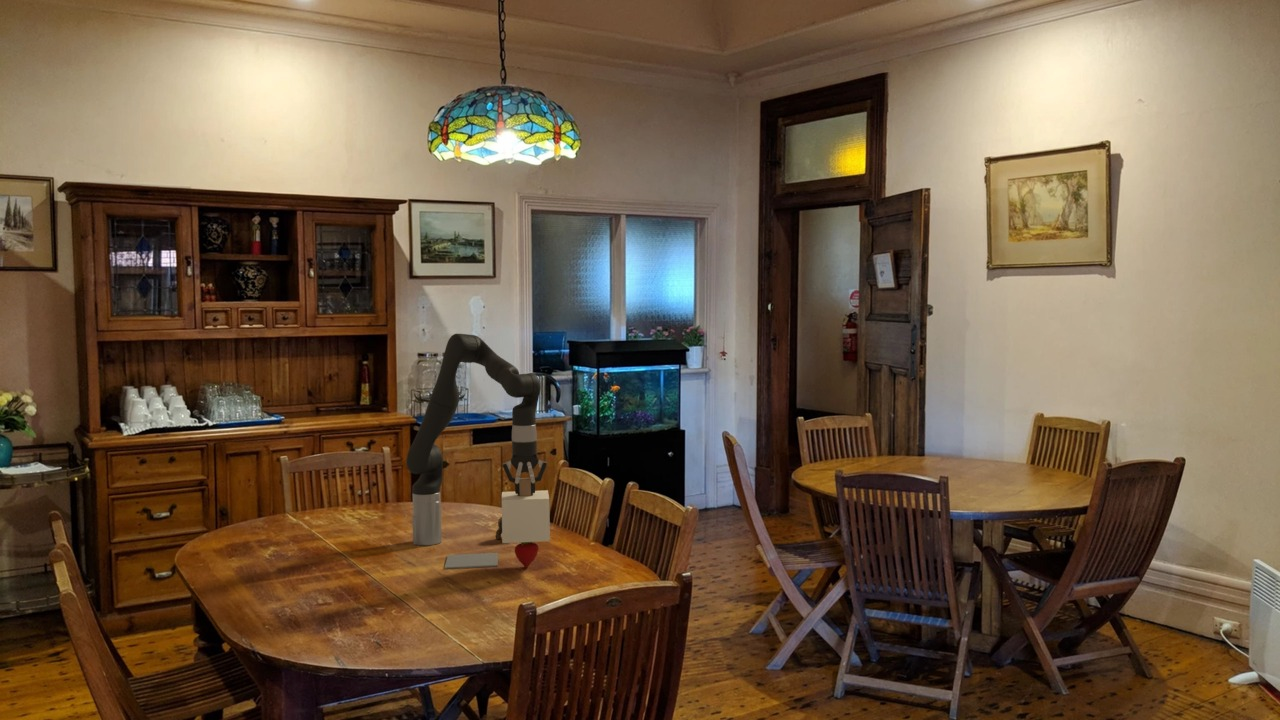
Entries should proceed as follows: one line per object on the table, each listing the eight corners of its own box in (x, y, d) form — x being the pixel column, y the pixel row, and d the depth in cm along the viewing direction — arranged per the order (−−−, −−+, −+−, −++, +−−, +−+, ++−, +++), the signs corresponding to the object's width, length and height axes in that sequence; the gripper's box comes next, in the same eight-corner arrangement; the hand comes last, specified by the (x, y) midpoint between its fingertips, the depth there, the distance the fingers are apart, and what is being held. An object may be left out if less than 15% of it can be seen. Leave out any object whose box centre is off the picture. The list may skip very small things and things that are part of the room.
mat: (444, 569, 290) (444, 567, 290) (447, 556, 304) (447, 555, 304) (497, 566, 292) (497, 564, 292) (498, 554, 306) (498, 552, 306)
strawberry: (541, 568, 290) (541, 535, 289) (517, 571, 287) (517, 538, 286) (535, 563, 296) (535, 531, 295) (512, 566, 292) (511, 534, 292)
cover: (502, 543, 284) (501, 483, 282) (502, 533, 296) (501, 476, 295) (549, 541, 286) (549, 482, 284) (548, 531, 298) (547, 474, 296)
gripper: (500, 441, 284) (501, 498, 285) (548, 440, 286) (548, 496, 287) (501, 438, 291) (502, 493, 293) (547, 436, 293) (548, 491, 294)
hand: (525, 494), depth 290 cm, fingers closed on cover, 3 cm apart
